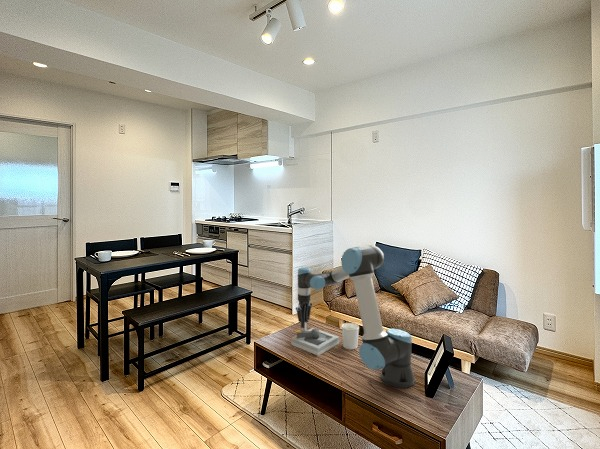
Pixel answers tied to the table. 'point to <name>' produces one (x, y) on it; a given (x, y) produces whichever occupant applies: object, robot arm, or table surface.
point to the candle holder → (350, 335)
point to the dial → (312, 336)
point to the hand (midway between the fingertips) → (304, 332)
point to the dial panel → (316, 349)
